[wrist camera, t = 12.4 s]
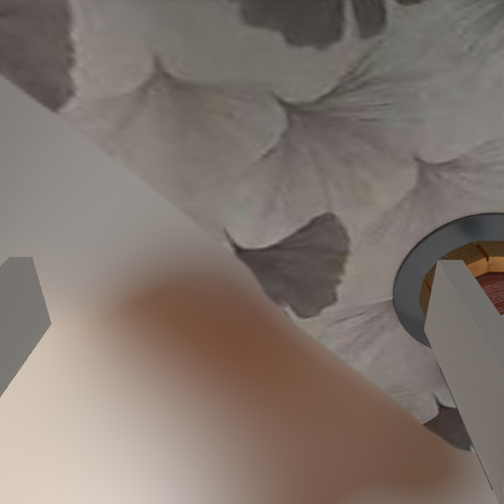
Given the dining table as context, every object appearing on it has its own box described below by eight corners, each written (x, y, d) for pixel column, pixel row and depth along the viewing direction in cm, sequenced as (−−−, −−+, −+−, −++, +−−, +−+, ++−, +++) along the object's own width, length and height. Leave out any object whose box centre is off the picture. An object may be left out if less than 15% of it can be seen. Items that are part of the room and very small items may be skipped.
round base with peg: (404, 212, 42) (455, 301, 30) (587, 213, 41) (715, 304, 29) (380, 375, 52) (411, 492, 40) (528, 378, 51) (606, 499, 39)
